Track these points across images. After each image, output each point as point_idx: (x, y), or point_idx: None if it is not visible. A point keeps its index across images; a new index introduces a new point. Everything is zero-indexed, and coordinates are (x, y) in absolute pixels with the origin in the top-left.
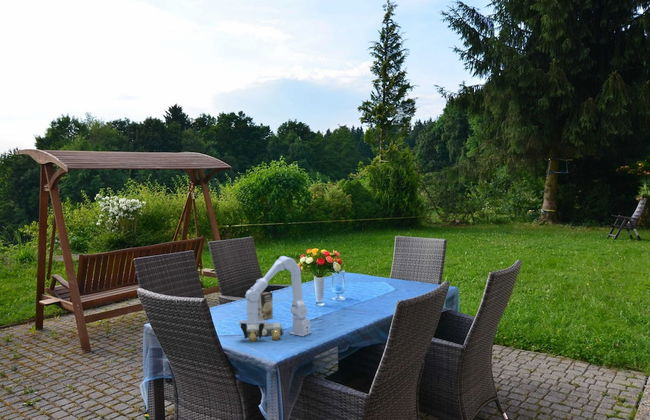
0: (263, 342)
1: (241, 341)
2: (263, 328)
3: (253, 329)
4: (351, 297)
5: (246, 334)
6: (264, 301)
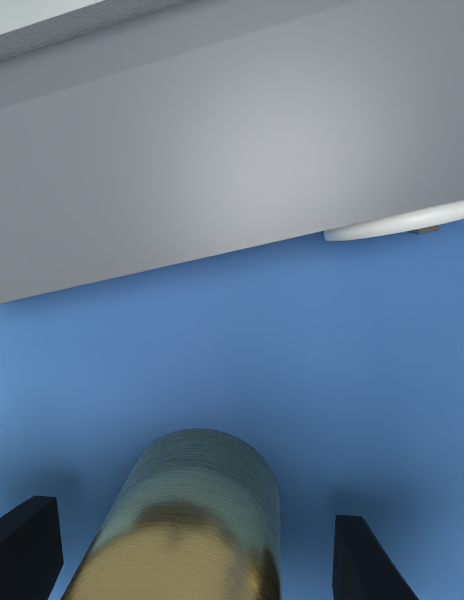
0: None
1: None
2: (395, 59)
3: (60, 204)
4: None
5: (15, 581)
6: None
